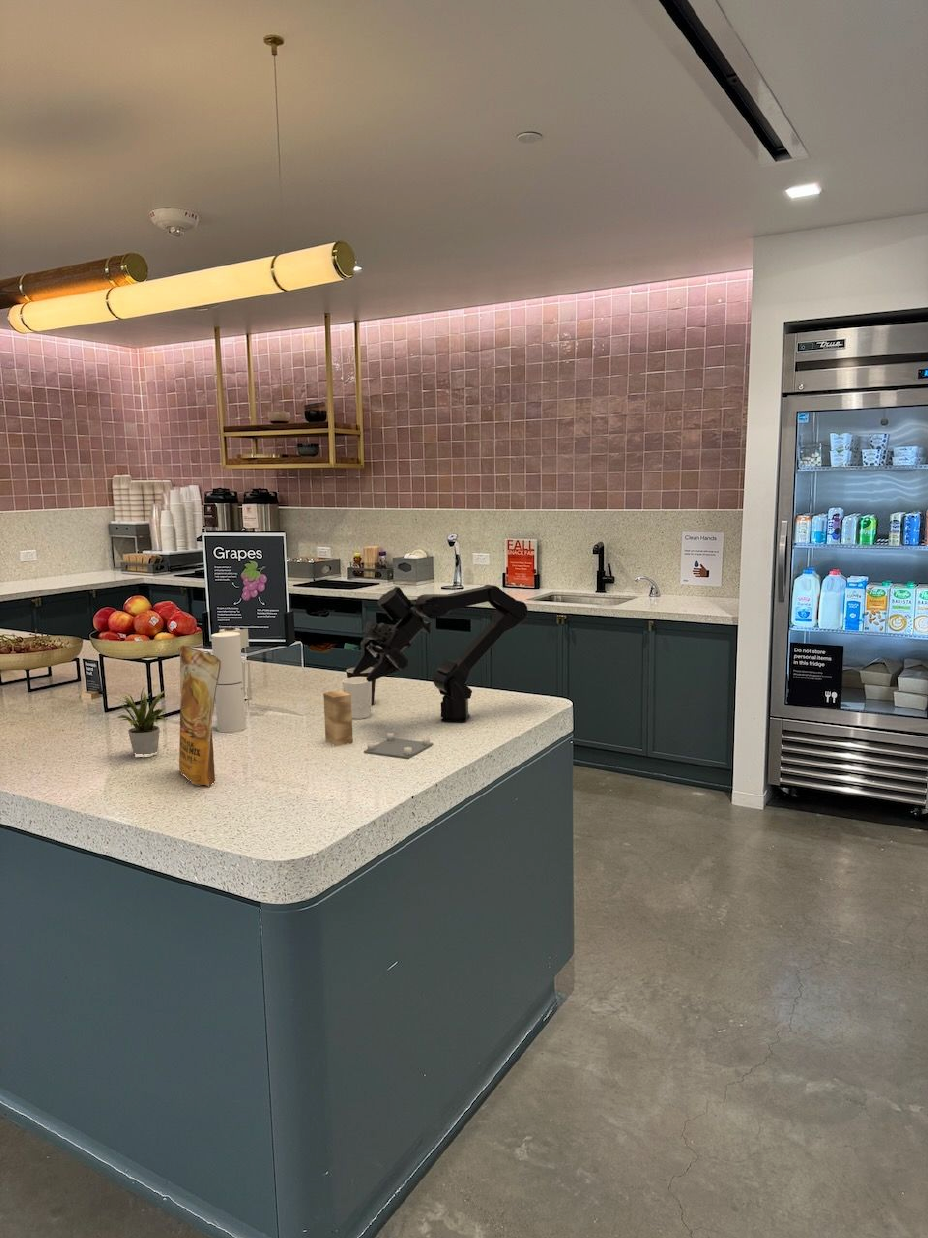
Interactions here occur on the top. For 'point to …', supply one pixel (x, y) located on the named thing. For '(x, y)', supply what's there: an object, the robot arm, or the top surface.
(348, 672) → the coffee mug
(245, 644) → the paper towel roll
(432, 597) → the robot arm
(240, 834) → the top surface
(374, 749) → the peg plate
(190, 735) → the pancake mix bag
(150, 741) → the house plant
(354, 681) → the white cup
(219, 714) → the cylindrical container
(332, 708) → the wooden block
